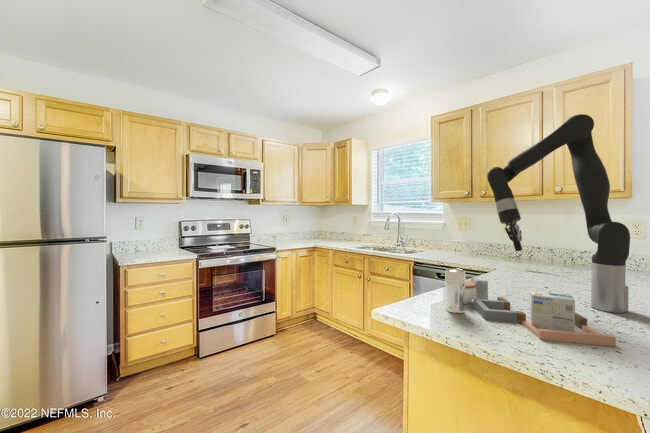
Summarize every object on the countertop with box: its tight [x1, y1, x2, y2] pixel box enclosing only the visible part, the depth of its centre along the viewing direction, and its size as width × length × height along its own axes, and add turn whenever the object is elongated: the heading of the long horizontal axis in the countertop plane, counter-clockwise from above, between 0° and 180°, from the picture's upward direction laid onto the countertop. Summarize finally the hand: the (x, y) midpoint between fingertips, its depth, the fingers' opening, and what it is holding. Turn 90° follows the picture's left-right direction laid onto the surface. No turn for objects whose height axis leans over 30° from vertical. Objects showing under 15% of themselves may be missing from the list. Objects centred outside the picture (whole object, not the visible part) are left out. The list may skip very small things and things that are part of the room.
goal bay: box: [521, 320, 617, 347], centre depth 86 cm, size 18×12×2 cm, turn 77°
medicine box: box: [470, 276, 489, 300], centre depth 122 cm, size 8×4×9 cm, turn 168°
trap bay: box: [472, 298, 518, 323], centre depth 104 cm, size 10×14×3 cm
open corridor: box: [496, 296, 588, 329], centre depth 103 cm, size 19×20×3 cm
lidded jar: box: [463, 280, 476, 305], centre depth 119 cm, size 11×11×9 cm
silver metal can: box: [444, 268, 467, 314], centre depth 107 cm, size 7×7×15 cm
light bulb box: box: [530, 290, 576, 332], centre depth 91 cm, size 11×7×11 cm, turn 59°
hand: (519, 250), depth 118 cm, fingers closed
